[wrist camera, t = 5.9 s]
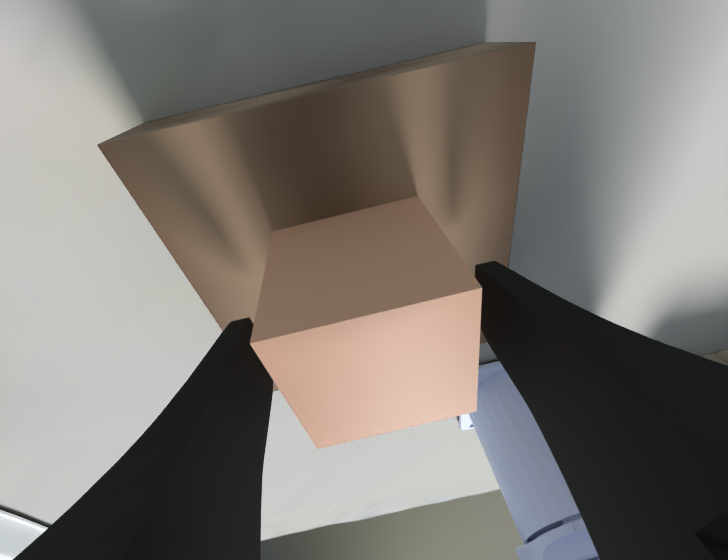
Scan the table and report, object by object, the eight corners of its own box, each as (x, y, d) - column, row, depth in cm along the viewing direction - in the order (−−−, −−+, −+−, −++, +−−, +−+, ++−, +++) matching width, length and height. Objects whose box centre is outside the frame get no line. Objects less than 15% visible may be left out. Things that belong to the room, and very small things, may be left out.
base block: (485, 42, 11) (535, 42, 8) (474, 300, 18) (499, 339, 16) (144, 122, 11) (97, 144, 8) (270, 347, 18) (264, 393, 16)
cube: (417, 195, 11) (482, 288, 7) (428, 304, 14) (476, 411, 10) (272, 231, 11) (249, 343, 7) (315, 331, 14) (317, 448, 10)
